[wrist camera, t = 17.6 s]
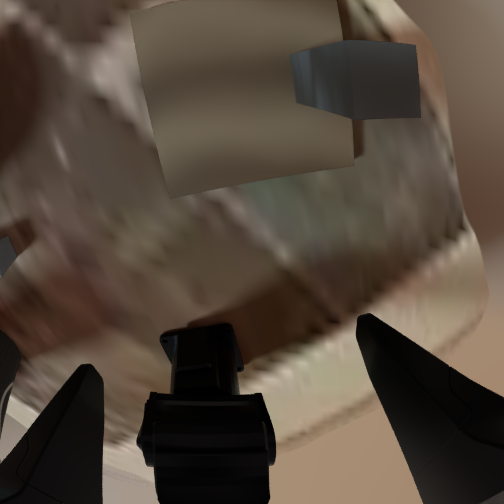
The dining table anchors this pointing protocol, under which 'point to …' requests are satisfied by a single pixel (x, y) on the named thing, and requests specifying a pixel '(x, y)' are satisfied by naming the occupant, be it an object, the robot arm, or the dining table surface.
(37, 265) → the dining table surface
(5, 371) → the coffee cup
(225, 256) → the dining table surface
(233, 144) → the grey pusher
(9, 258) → the slate frame
